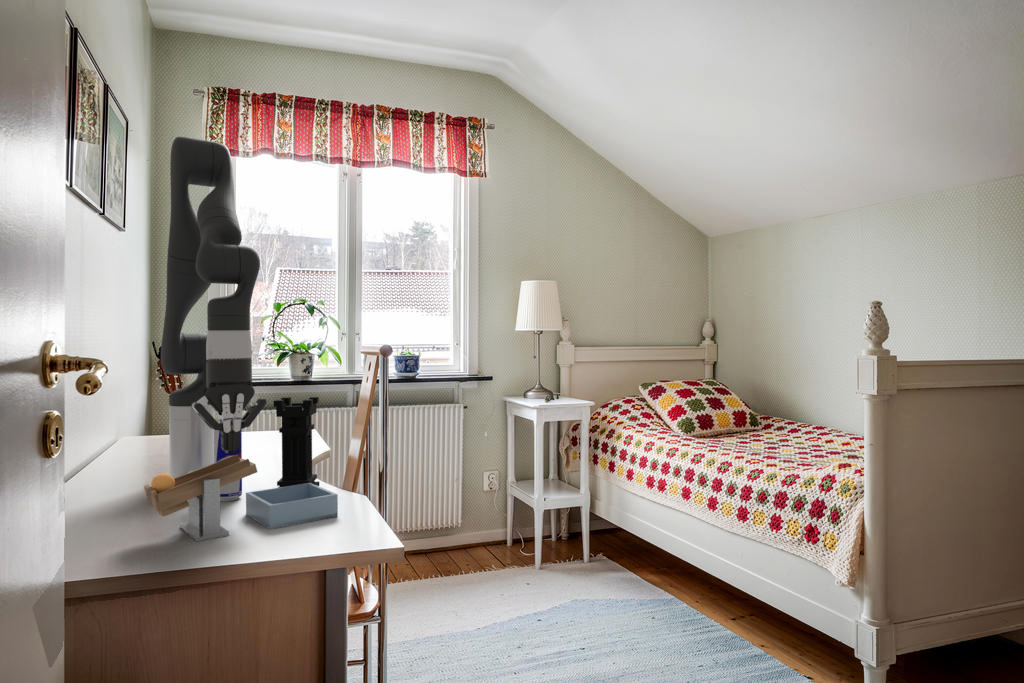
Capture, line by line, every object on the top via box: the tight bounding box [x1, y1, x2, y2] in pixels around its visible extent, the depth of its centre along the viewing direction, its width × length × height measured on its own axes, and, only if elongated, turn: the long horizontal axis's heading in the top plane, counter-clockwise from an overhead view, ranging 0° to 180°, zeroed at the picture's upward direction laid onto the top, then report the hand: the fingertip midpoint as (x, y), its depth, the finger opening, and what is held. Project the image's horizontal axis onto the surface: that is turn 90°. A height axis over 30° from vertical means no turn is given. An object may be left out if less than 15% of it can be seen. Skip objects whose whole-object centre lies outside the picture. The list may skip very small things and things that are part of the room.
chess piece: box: [273, 396, 320, 488], centre depth 135 cm, size 8×8×20 cm
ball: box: [150, 472, 175, 493], centre depth 108 cm, size 3×3×3 cm
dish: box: [245, 483, 339, 530], centre depth 122 cm, size 12×12×4 cm
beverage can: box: [214, 429, 243, 502], centre depth 134 cm, size 5×5×15 cm
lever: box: [143, 454, 258, 517], centre depth 114 cm, size 11×16×4 cm
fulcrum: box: [179, 471, 230, 542], centre depth 112 cm, size 10×5×10 cm, turn 40°
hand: (230, 452), depth 120 cm, fingers closed
